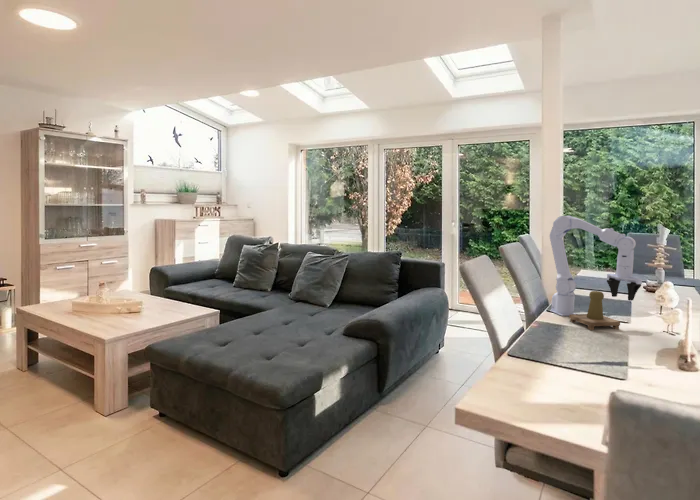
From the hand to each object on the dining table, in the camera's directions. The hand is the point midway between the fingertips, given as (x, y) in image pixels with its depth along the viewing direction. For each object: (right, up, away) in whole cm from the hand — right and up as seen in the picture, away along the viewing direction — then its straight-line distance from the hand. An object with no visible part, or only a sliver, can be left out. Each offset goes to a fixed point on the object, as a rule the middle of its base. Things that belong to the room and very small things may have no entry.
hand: (622, 298), depth 186 cm
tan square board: (-14, -11, -3) cm, 18 cm away
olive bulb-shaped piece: (-13, -8, -3) cm, 16 cm away
